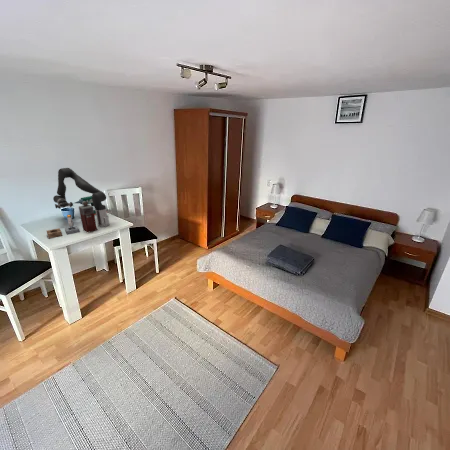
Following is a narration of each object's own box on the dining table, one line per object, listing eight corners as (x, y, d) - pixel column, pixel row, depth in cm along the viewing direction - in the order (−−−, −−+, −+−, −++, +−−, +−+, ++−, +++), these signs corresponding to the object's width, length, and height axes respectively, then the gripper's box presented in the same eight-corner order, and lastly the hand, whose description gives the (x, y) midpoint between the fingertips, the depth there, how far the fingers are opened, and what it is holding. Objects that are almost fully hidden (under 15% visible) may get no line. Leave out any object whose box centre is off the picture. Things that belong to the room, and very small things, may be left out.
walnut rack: (60, 232, 222) (59, 228, 221) (62, 235, 215) (61, 231, 214) (47, 234, 216) (46, 230, 215) (48, 238, 209) (47, 234, 208)
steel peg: (75, 230, 226) (71, 214, 220) (73, 232, 223) (69, 215, 217) (72, 230, 226) (68, 214, 220) (69, 232, 223) (65, 215, 217)
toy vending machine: (88, 233, 221) (82, 203, 211) (83, 230, 228) (77, 201, 218) (98, 230, 228) (93, 201, 217) (93, 227, 234) (87, 199, 224)
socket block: (77, 228, 231) (76, 225, 230) (79, 231, 224) (79, 228, 223) (65, 231, 225) (64, 228, 224) (67, 234, 218) (66, 231, 217)
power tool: (77, 219, 254) (73, 201, 247) (74, 217, 258) (70, 199, 250) (107, 212, 278) (104, 195, 270) (103, 210, 282) (101, 194, 274)
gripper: (52, 200, 230) (55, 204, 219) (70, 198, 239) (73, 201, 227) (54, 207, 233) (57, 212, 221) (71, 205, 242) (75, 209, 230)
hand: (65, 207), depth 224 cm, fingers open, 8 cm apart
